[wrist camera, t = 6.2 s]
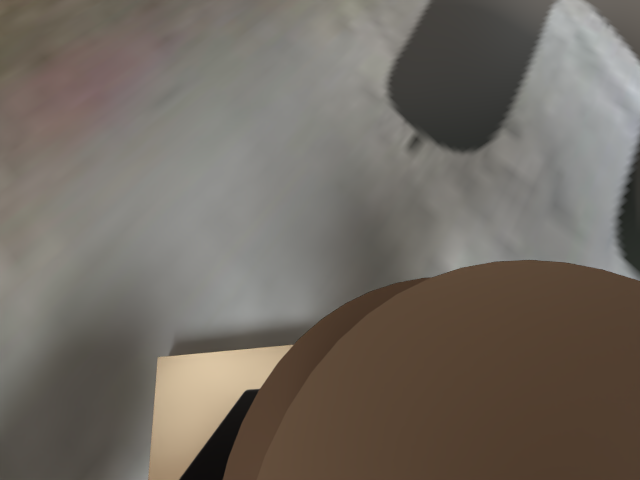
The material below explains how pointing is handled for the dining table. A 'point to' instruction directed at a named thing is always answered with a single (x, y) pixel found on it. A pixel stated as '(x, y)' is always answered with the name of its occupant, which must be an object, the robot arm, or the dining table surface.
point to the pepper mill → (458, 382)
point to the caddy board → (200, 401)
